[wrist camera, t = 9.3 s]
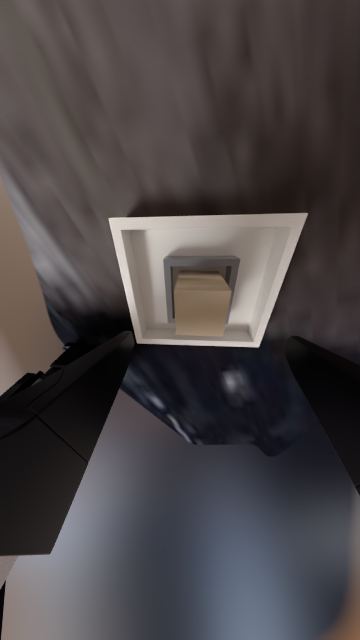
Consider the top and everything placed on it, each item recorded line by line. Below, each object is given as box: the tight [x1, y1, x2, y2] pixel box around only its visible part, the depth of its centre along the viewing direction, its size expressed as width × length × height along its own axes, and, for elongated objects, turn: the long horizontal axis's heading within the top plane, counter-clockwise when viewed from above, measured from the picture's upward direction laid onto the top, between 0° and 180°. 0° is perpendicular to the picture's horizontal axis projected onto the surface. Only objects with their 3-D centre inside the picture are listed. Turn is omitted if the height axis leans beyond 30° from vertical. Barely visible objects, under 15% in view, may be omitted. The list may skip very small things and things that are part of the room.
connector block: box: [174, 270, 232, 336], centre depth 14 cm, size 4×4×6 cm
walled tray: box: [109, 213, 308, 347], centre depth 15 cm, size 13×15×3 cm
